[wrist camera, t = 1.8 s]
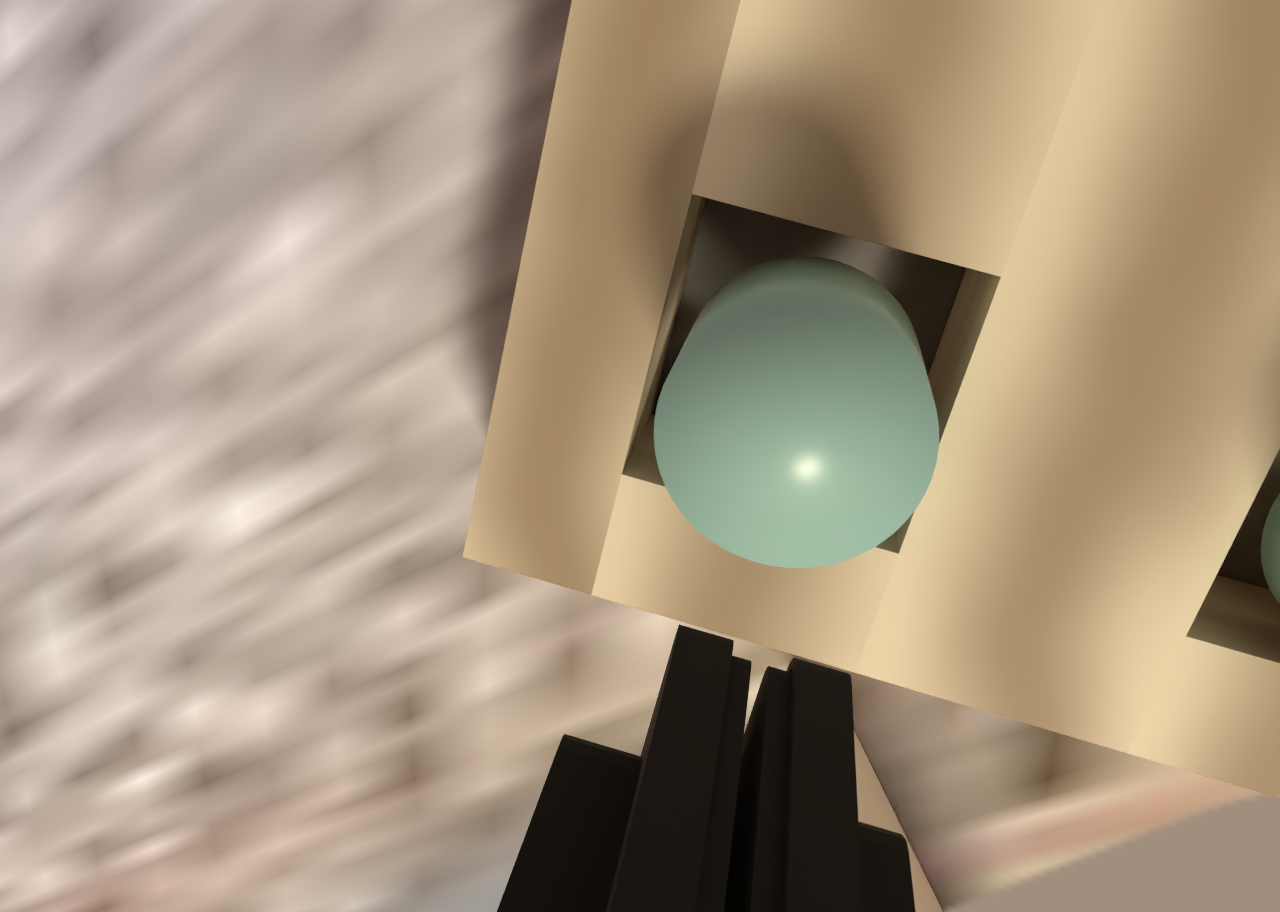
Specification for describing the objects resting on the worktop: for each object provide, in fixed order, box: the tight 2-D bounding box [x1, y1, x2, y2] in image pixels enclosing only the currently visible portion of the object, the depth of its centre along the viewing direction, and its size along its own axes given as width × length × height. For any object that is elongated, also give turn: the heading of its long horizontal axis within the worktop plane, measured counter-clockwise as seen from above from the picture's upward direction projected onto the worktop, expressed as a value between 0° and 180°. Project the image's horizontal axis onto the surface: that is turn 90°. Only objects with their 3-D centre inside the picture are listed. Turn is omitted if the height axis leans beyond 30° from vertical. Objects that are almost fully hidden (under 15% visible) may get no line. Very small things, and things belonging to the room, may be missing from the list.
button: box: [654, 256, 939, 568], centre depth 21 cm, size 5×5×4 cm
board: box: [463, 0, 1280, 798], centre depth 21 cm, size 24×24×4 cm
